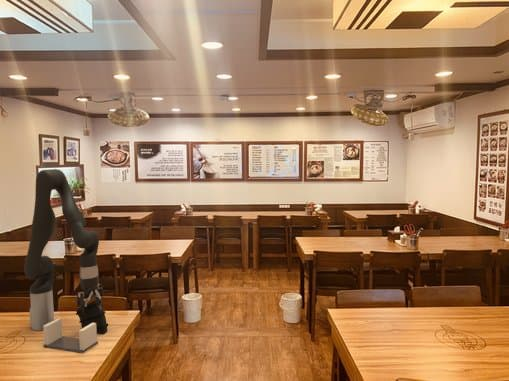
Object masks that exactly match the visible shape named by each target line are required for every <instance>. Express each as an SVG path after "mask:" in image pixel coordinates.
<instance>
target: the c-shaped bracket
mask: <svg viewBox="0 0 509 381" xmlns="http://www.w3.org/2000/svg"><path fill="white" fill-rule="evenodd" d="M62 320H63V319H62V318H56V319H54V321H52V322H50V323H48V324H46V325H44V326H43V330H42V331H43V345H44V344H45V345H48V344H50V343H52V342H54V341H56V340H57V339H59V338H61V337H62V336H63V326H62V325H63V323H62V322H63V321H62ZM81 328H82V327H81ZM81 328H80V329H79V330H78V338H79V343H80V350H85V349H86V348H88V347H89V346H91V345H92V344H94V343H95V342H97V341H98V337H97V336H98V334H97V331H96V323H91V324H89V325H88V326H86V327H84V328H82V329H81Z"/></svg>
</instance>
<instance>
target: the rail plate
mask: <svg viewBox="0 0 509 381" xmlns="http://www.w3.org/2000/svg"><path fill="white" fill-rule="evenodd" d="M98 344H99V341H98V340H97V342H95V343H94V344H92V345H91V346H89V347H88V348H86V349H85V350H80V343H79V337H71V336H65V335H62V337H61V338H59V339H57V340H56V341H54V342H52V343H50V344H48V345H45V344H44V343H43V345H42V346H43V348H46V349H53V350H58V351H59V350H60V351H67V352H73V353H79V354H84V353H85V352H87V351H88V350H90V349H92V348H93V347H95V346H96V345H98Z"/></svg>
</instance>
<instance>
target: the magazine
mask: <svg viewBox="0 0 509 381" xmlns="http://www.w3.org/2000/svg"><path fill="white" fill-rule="evenodd" d="M101 303H102V301H99V299H97V300H95V299H94V300H93V301H92V302H88V303H87V314H86V315H83V314H82V309H81V307H79V308H77V309H76V310H75V316H78V318H79V321H78V322H79V323H80V326H81V328H80V330H81V329H82V328H84V327H86V326H88V325H89V324H91V323H96V331H97V335H104V334H106V333H107V332H108V326H109V323H107V318H106V310H104V308H103V306H102V304H101Z"/></svg>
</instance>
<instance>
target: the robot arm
mask: <svg viewBox="0 0 509 381" xmlns="http://www.w3.org/2000/svg"><path fill="white" fill-rule="evenodd" d="M35 178H36V179H35V194H34V195H35V199H34V208H33V209H34V210H33V215H32V216H33V217H32V222H31V231H30V232H31V233H30V237H29V238H30V240H29V245H28V250H27V253H26V256H25V257H26V258H25V260H24V266H23V272H24V274H25V276H26V278H27V279H29V280H35V281H34V283H32V284H31V285H30V286H29V297H30V308H29V309H28V310H29V324H30V326H29V327H30V329H31V330H33V331H38V332H39V331H43V326H44V325H46V324H48V323H50V322H52V321H54V320H55V311H54V296H53V285H54V278H55V277H54V272H55V271H54V262H53V261H52V259H51V257H49V256H47V255H43V252H44V250H45V247H46V246H47V245H48V243H49V242H50V240H51V239H52V237H53V235H54V232H55V229H56V228H55V227H56V220H57V218H56V214H55V211H54V210H53V206H52V204H51V196H52V191H53V190H54V191H55V192H57V194H58V195H59V197H60V199H61V210H62V216H63V218H64V219H65V221H66V223H67V225H68V227H69V228H70V232H71V236H72V239H73V240H72V241H73V243H74V245H75V246H77V248H78V249H81V250H83V249H84V251H83V252H82V253H81V254H80V255H79V280H80V287H81V289H82V290H81V291H80V292H77V293H76V306H77V307H79V308H81V309H82V314H83V315H86V314H87V304H89V303H90V300H91V299H92V298H94V301H95V300H97V299H99V301H101V299H102V297H105V296H104V285H103V283H100V280H99V268H98V259H97V254H98V252H99V250H98V249H99V245H100V244H99V243H100V238H99V235H98V232H96V231H95V230H87V231H85V228H84V227H85V226H86V225H87V221H86V219H85V217H84V216H83V214H82V212H81V209H79V206H78V204H77V202H76V199H75V198H74V194H73V192H72V190H71V186H70V184H69V181H68V179H67V177H66V174H65V173H64V172H63V170H60V169H59V168H58V169H57V168H54V169H42V170H40V171H39V172H38V173H37V174H36V177H35ZM101 302H102V301H101Z"/></svg>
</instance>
